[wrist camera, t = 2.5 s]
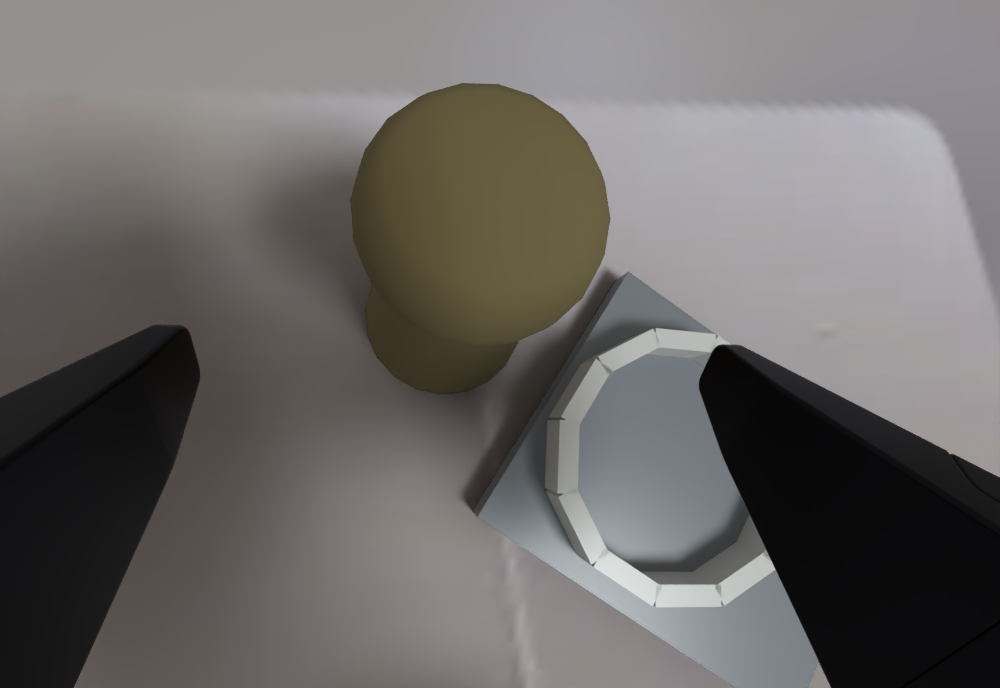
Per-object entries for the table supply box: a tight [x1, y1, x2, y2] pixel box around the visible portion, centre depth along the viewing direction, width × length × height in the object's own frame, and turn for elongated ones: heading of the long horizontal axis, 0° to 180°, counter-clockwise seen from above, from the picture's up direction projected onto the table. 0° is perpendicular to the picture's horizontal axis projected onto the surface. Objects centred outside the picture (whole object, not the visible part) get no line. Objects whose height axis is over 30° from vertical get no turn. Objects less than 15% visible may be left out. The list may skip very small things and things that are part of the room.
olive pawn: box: [351, 83, 610, 394], centre depth 14 cm, size 6×6×11 cm
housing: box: [473, 272, 819, 688], centre depth 19 cm, size 14×11×3 cm
